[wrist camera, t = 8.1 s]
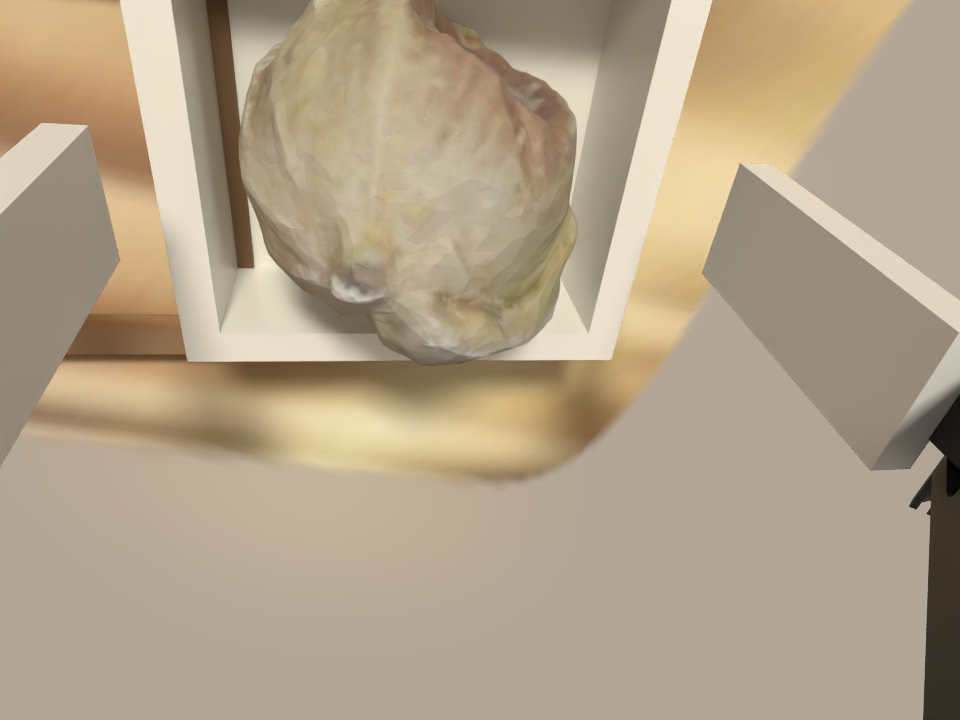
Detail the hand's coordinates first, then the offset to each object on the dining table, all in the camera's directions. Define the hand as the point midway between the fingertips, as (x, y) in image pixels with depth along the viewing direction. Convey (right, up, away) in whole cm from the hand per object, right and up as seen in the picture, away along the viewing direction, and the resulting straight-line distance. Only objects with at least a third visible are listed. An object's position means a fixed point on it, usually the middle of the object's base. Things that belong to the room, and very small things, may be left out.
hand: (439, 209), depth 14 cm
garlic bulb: (-1, +4, +6) cm, 8 cm away
